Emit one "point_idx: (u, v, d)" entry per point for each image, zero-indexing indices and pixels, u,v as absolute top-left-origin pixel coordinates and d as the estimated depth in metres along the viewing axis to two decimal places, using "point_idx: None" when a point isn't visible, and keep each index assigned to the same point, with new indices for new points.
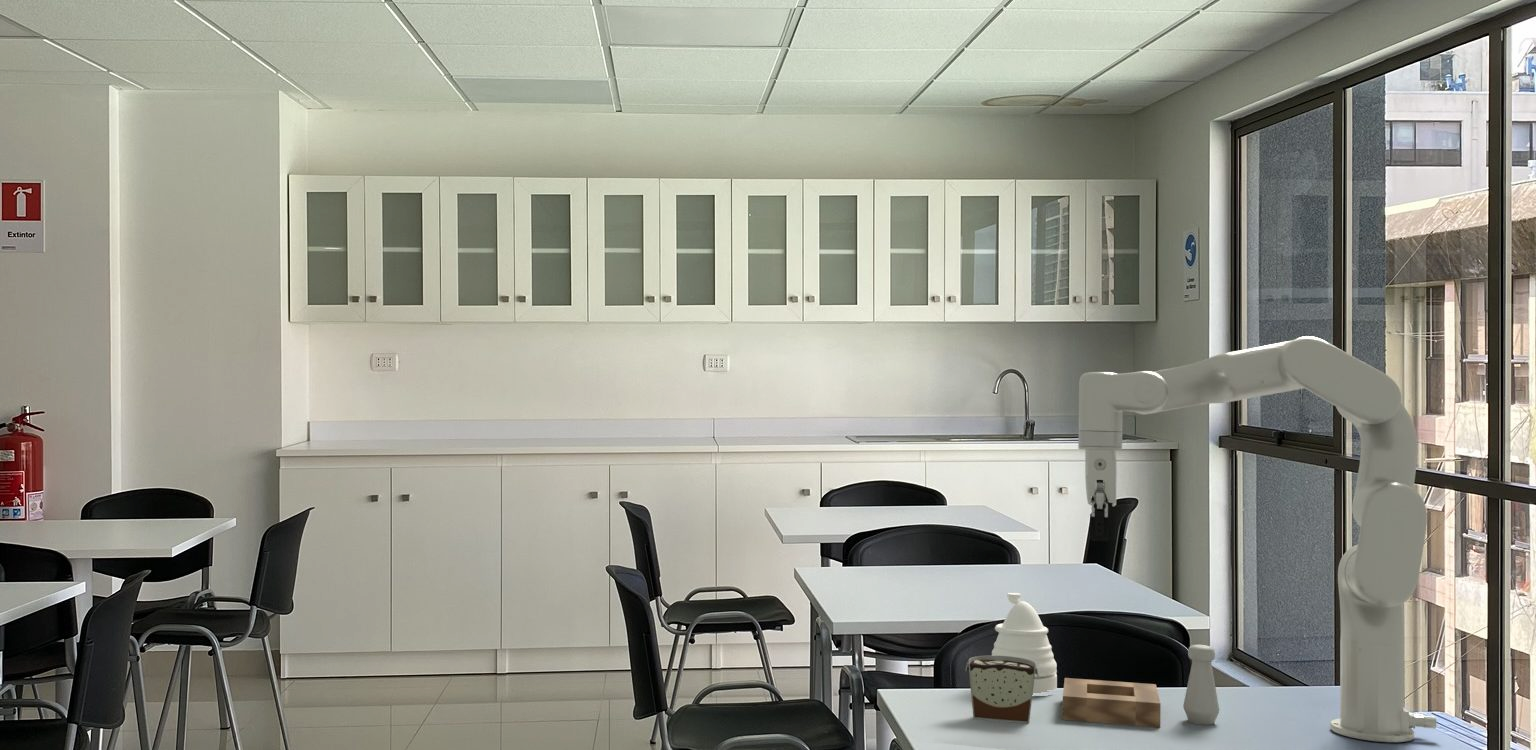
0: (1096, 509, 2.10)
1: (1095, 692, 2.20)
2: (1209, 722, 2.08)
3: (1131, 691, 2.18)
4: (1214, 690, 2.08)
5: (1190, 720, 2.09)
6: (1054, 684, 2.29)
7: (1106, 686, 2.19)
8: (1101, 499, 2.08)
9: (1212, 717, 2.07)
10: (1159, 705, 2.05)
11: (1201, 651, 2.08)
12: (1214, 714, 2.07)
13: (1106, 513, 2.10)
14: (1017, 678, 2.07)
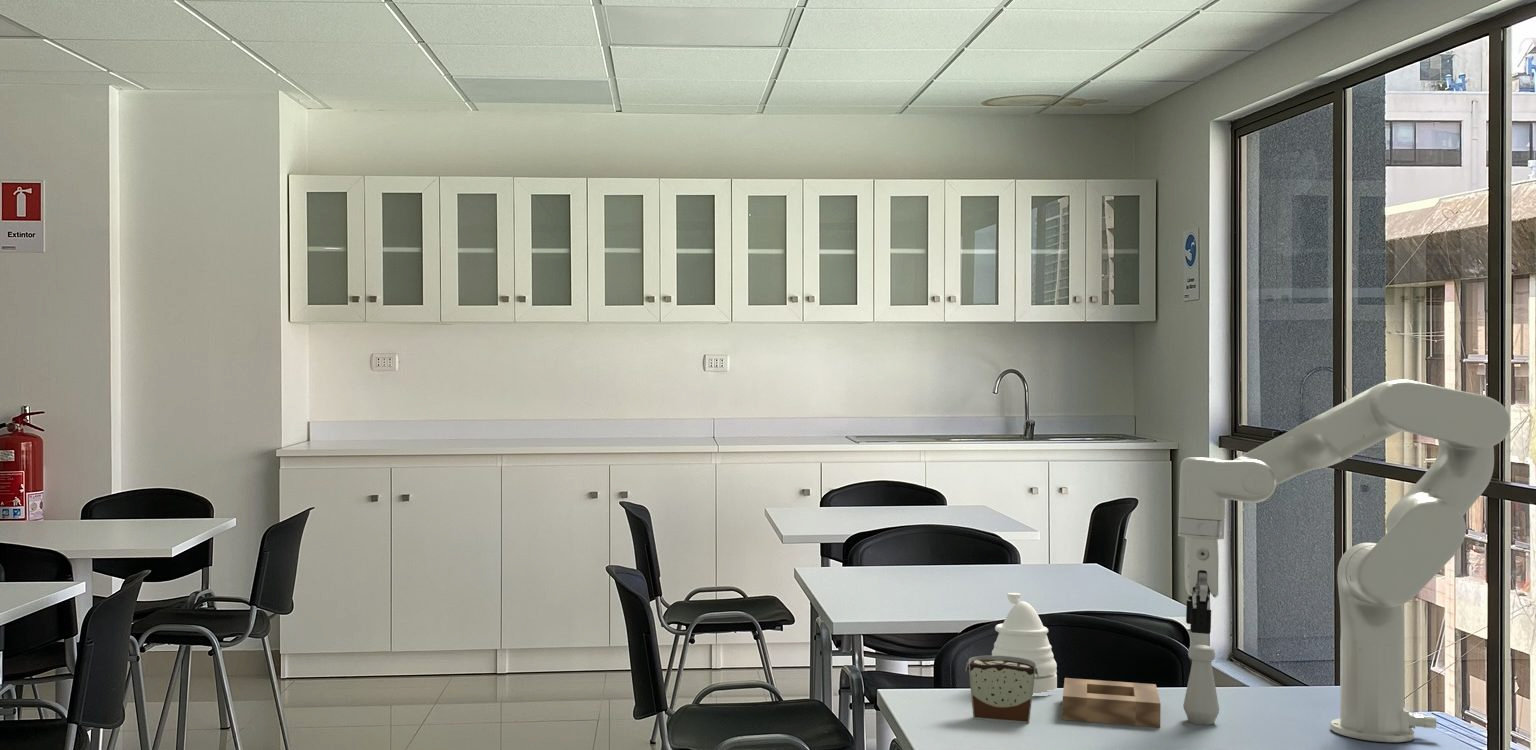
0: (1199, 601, 2.04)
1: (1095, 692, 2.20)
2: (1209, 722, 2.08)
3: (1131, 691, 2.18)
4: (1214, 690, 2.08)
5: (1190, 720, 2.09)
6: (1054, 684, 2.29)
7: (1106, 686, 2.19)
8: (1205, 592, 2.03)
9: (1212, 717, 2.07)
10: (1159, 705, 2.05)
11: (1201, 651, 2.08)
12: (1214, 714, 2.07)
13: (1209, 605, 2.04)
14: (1017, 678, 2.07)
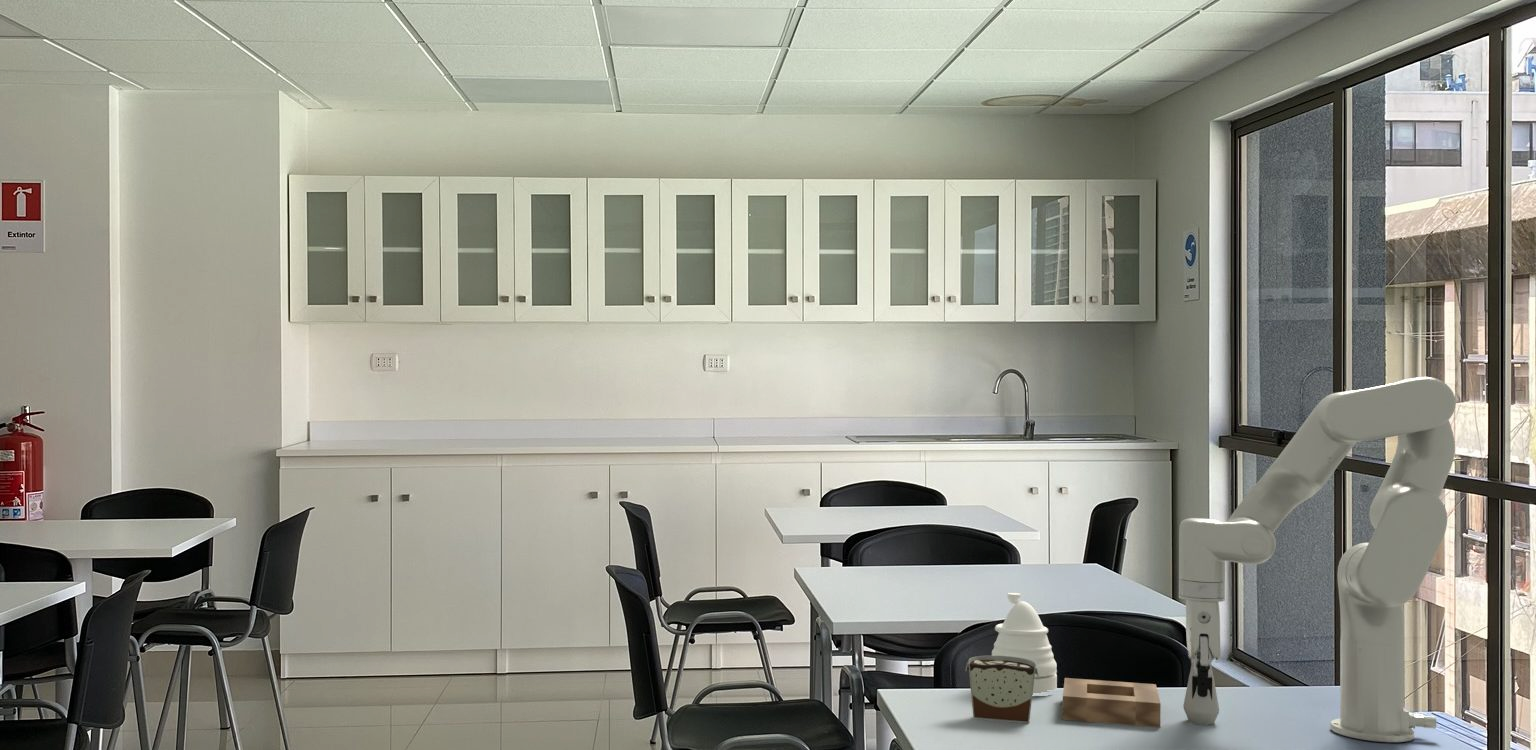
0: (1200, 670, 2.06)
1: (1095, 692, 2.20)
2: (1209, 722, 2.08)
3: (1131, 691, 2.18)
4: (1214, 690, 2.08)
5: (1190, 720, 2.09)
6: (1054, 684, 2.29)
7: (1106, 686, 2.19)
8: (1206, 667, 2.04)
9: (1212, 717, 2.07)
10: (1159, 705, 2.05)
11: None
12: (1214, 714, 2.07)
13: (1209, 675, 2.07)
14: (1017, 678, 2.07)
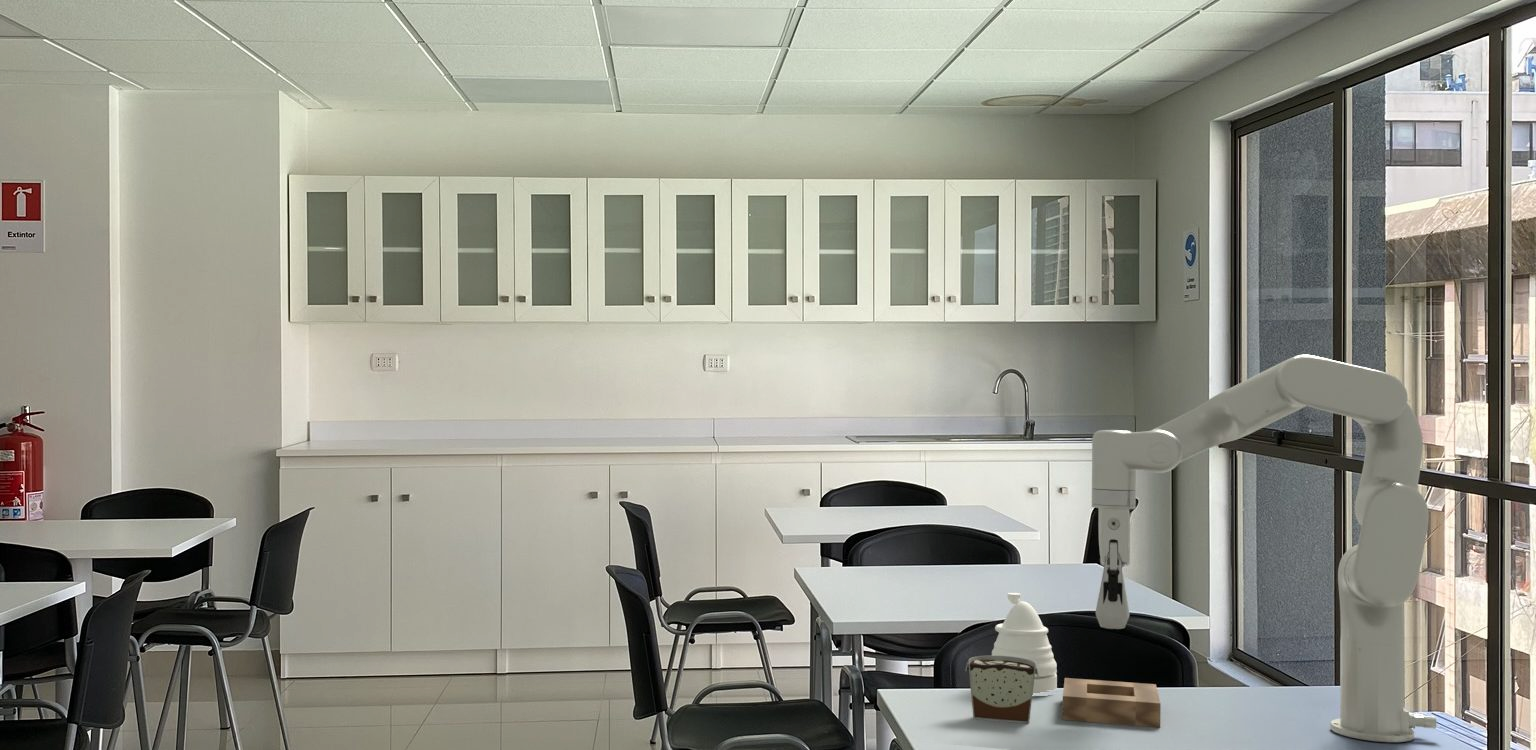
0: (1110, 575, 2.12)
1: (1095, 692, 2.20)
2: (1119, 626, 2.13)
3: (1131, 691, 2.18)
4: (1124, 595, 2.14)
5: (1101, 625, 2.15)
6: (1054, 684, 2.29)
7: (1106, 686, 2.19)
8: (1115, 571, 2.10)
9: (1122, 621, 2.13)
10: (1159, 705, 2.05)
11: None
12: (1124, 618, 2.13)
13: (1119, 581, 2.13)
14: (1017, 678, 2.07)
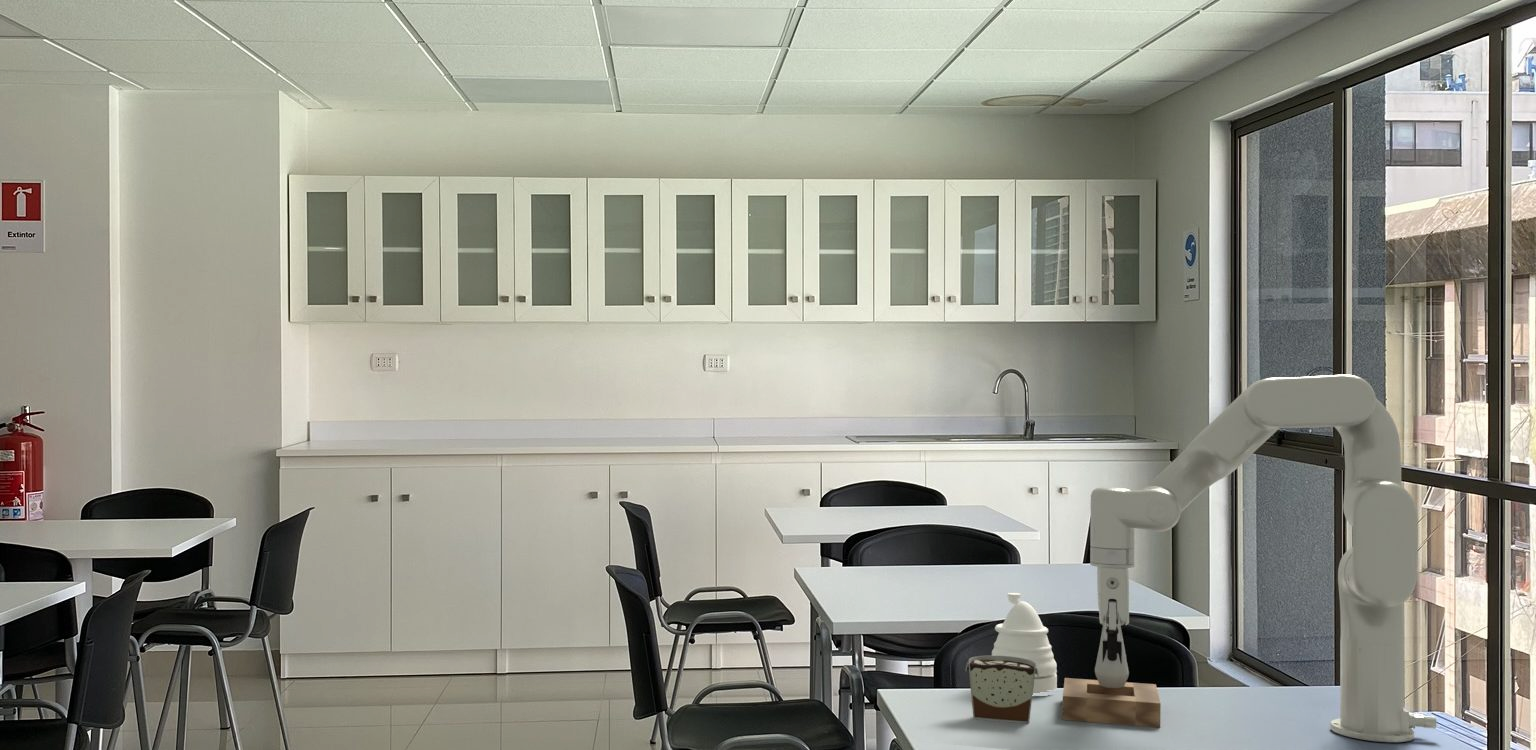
0: (1109, 634, 2.12)
1: (1095, 692, 2.20)
2: (1118, 685, 2.13)
3: (1131, 691, 2.18)
4: (1123, 654, 2.14)
5: (1101, 684, 2.15)
6: (1054, 684, 2.29)
7: None
8: (1114, 631, 2.10)
9: (1121, 680, 2.13)
10: (1159, 705, 2.05)
11: None
12: (1123, 677, 2.13)
13: (1119, 640, 2.12)
14: (1017, 678, 2.07)
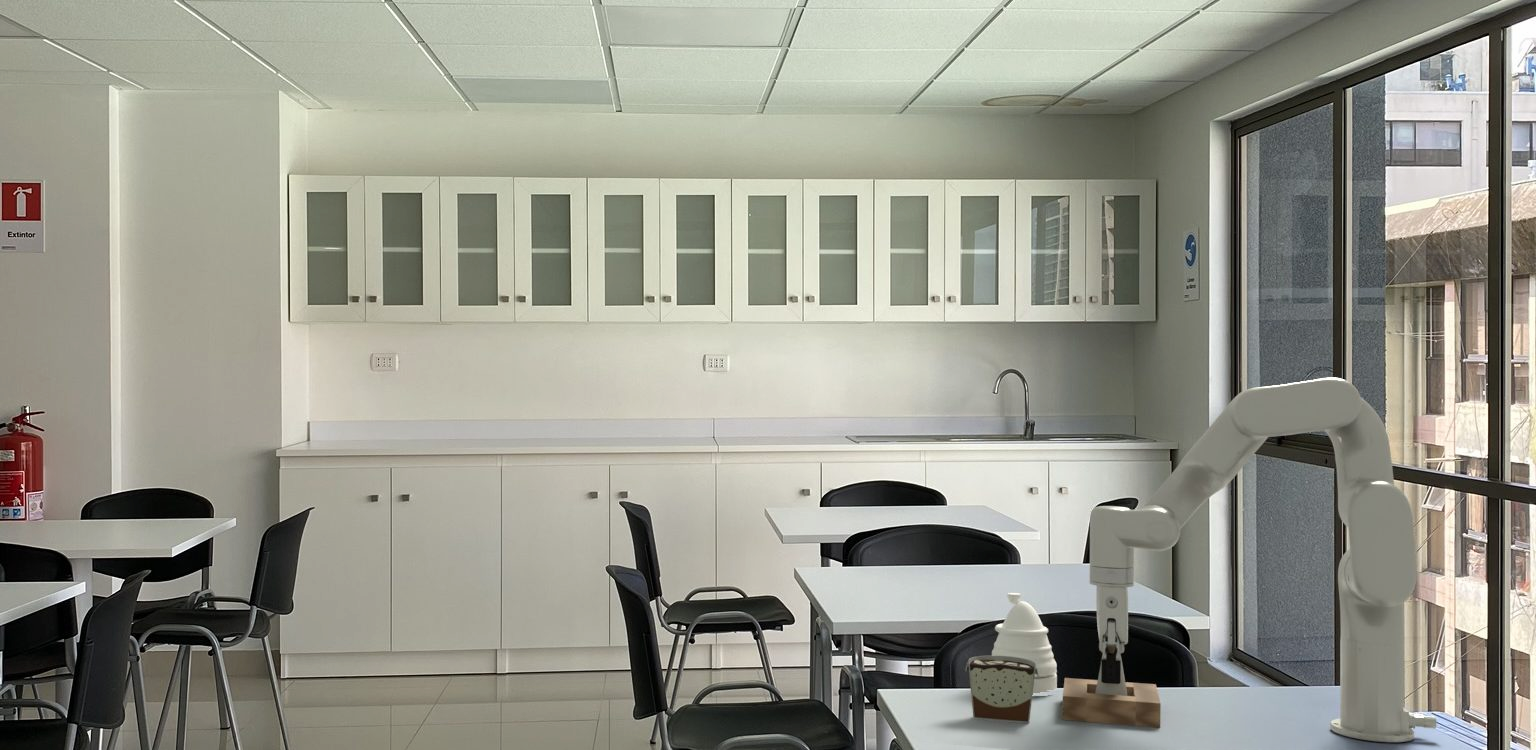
0: (1108, 653, 2.10)
1: None
2: None
3: (1131, 691, 2.18)
4: (1123, 682, 2.14)
5: None
6: (1054, 684, 2.29)
7: None
8: (1113, 647, 2.09)
9: None
10: (1159, 705, 2.05)
11: None
12: None
13: (1118, 658, 2.11)
14: (1017, 678, 2.07)
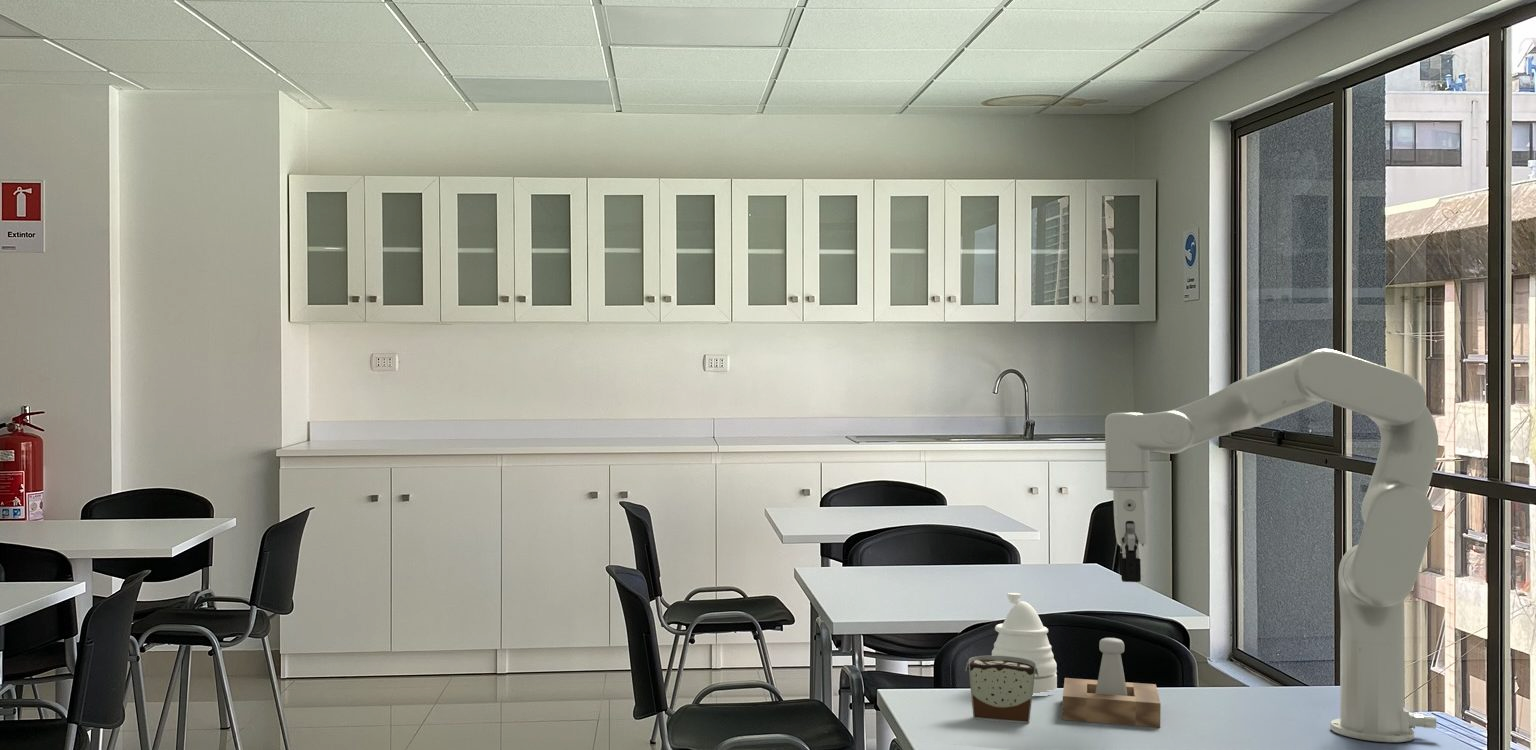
0: (1127, 550, 2.10)
1: None
2: None
3: (1131, 691, 2.18)
4: (1123, 682, 2.14)
5: None
6: (1054, 684, 2.29)
7: None
8: (1132, 541, 2.09)
9: None
10: (1159, 705, 2.05)
11: (1110, 644, 2.13)
12: None
13: (1137, 554, 2.11)
14: (1017, 678, 2.07)
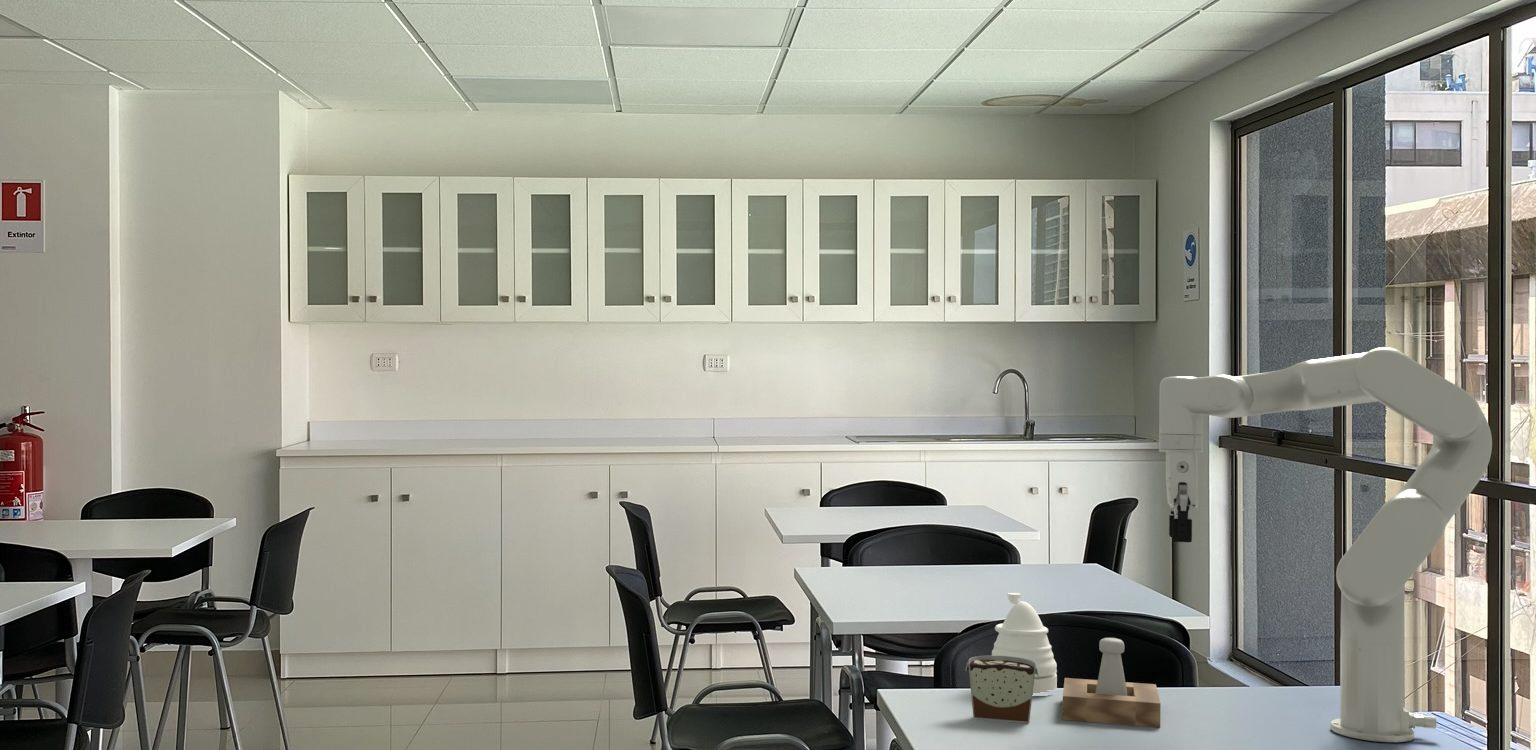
0: (1180, 511, 2.14)
1: None
2: None
3: (1131, 691, 2.18)
4: (1123, 682, 2.14)
5: None
6: (1054, 684, 2.29)
7: None
8: (1185, 501, 2.12)
9: None
10: (1159, 705, 2.05)
11: (1110, 644, 2.13)
12: None
13: (1189, 515, 2.14)
14: (1017, 678, 2.07)
